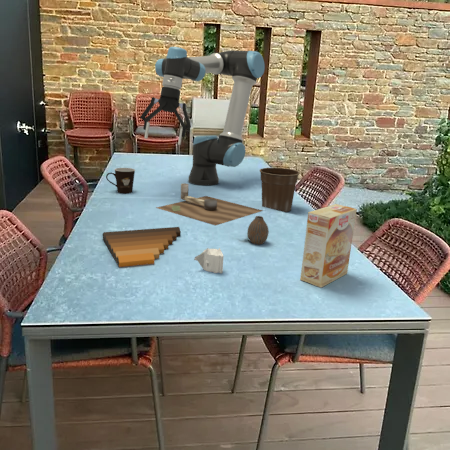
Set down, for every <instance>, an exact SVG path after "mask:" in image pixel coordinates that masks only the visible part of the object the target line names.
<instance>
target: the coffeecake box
mask: <svg viewBox="0 0 450 450" xmlns="http://www.w3.org/2000/svg"><path fill="white" fill-rule="evenodd" d="M357 211H358V210H357V208H354V207H351V206H346V205H341V204H338V203H334V204H332V205H328V206H326V207H322V208H318V209H315V210H311V211H308V212H307V222H306V230H305V236H304V245H303V246H304V247H303V252H302V253H303V255H302V260H301V261H302V263H301V272H300V278H299V279H300V281H302V282H306V283H308V284H310V285H313V286H316V287H317V288H320V289H321V288H324V287H325V286H327V285H329V284H331V283H332V282H334V281H336V280H338V279H341V278H342V277H343V276H346V275H347V274H348V271H349V263H350V258H351V257H350V255H351V252H352V251H351V249H352V243H353V235H354V230H355V224H356V217H357Z"/></svg>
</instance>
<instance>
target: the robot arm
mask: <svg viewBox="0 0 450 450" xmlns="http://www.w3.org/2000/svg"><path fill="white" fill-rule="evenodd" d="M265 66H266V65H265V61H264V57H263V55H262V54H261V53H260V52H259V51H255V50H235V49H233V50H226V51H219V52H213V53H211V54H209V55H205V56H190V57H189V56H188V51H187V50H186V48H185V49H184V48H182V47H179V46H170V47H169V48H168V50H167V53H166V57H165V58H160V59H159V58H158V59H157V60H156V62H155V64H154V68H155V69H154V71H155V73H156V74H157V76H158V77H161V78H162V79H163V80H162V84H161V85H162V87H161V89H160V90H161V91H160V95H159V98H156V97H154V96H152V97H151V98H150V99H151V100H150V103H149V104H148V106H147V107H146V108H145V110H144V111H143V112H142V114H141V115H140V119H141V120H143V128H142V129H143V130H144V131H145V132H144V139H146V140H148V138H149V132H150V125H151V123H150V122H149V121H151V120H152V119H154V117H155V116H157V115H158V113H160V112H169V113H174V115H175V116H176V118H177V119H178V122H179V123H180V125H181V127H180V131H179V137H178V142H177V145H178V146H181V145H182V138H185V136H186V130H187V129H191V128H192V125H191V121H190V119H189V115H188V111H187V103H185V102H183V103H181V102H180V97H181V89H182V85H183V81H184V79H185V80H191V81H193V82H194V81H195V82H201V81H202V80H203V79H204V78H205V76H206V74H213V75H224V76H230V77H231V78H232V80H233V86H232V90H231V91H232V92H231V96H230V99H229V103H228V109H227V112H226V118H225V121H224V126H223V131H222V132H220V134H219V135H199V136H195V137H194V138H193V145H192V167H191V170H190V173H189V175H188V179H187V180H188V181H187V182H188V184H189V183H190V184H192V185H197V186H217V185H218V184H219V182H220V178H219V174H218V170H217V165H221V166H224V167H229V168H230V167H231V168H236V167H239V165H241V164H242V162H243V160H244V159H245V156H246V147H245V145H244V143H243V142H244V139H243V138H242V134H243V133H242V132H243V128H244V124H245V118H246V114H247V109H248V105H249V101H250V96H251V93H252V87H253V86H254V85H256V84H257V81H258V79H260V78H262V76H263V75H264V73H265V70H266V69H265ZM157 103H158V105H159V106H158V107H157V108H155V109H154V110H153V111H152V112H151V113H150V111H151V110H152V109H153V107H154V106H155V105H156V104H157ZM179 107H180V109H182V113H183V116H184V120H185V122H184V120H183V119H182V117H181V115H180V113H179V111H178V110H177V109H179ZM149 113H150V114H149ZM185 123H186V124H185Z"/></svg>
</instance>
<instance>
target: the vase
mask: <svg viewBox="0 0 450 450" xmlns="http://www.w3.org/2000/svg"><path fill="white" fill-rule="evenodd" d="M246 234H247V237H248V241H250V242H251V244H253V245H263V244H264V243H265V242H266V241H267V239H268V237H269V226H268V224H267V222H266V221H265V220H264V217H263V216H262V215H256V216H255V217H254V219H253V220H252V221H251V222H250V223H249V225H248V227H247V233H246Z"/></svg>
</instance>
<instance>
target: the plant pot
mask: <svg viewBox="0 0 450 450" xmlns="http://www.w3.org/2000/svg"><path fill="white" fill-rule="evenodd" d="M259 172H260V181H261V207H263V208H266V209H270V210H274V211H279V212H283V213H288V212H290V211H291V210H292V206H293V201H294V196H295V191H296V190H295V189H296V185H297V183H298V179H299V178H298V177H299V175H300V171H298V170H295V169H292V168H291V169H290V168H286V167H285V168H284V167H263V168H260V169H259Z"/></svg>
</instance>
